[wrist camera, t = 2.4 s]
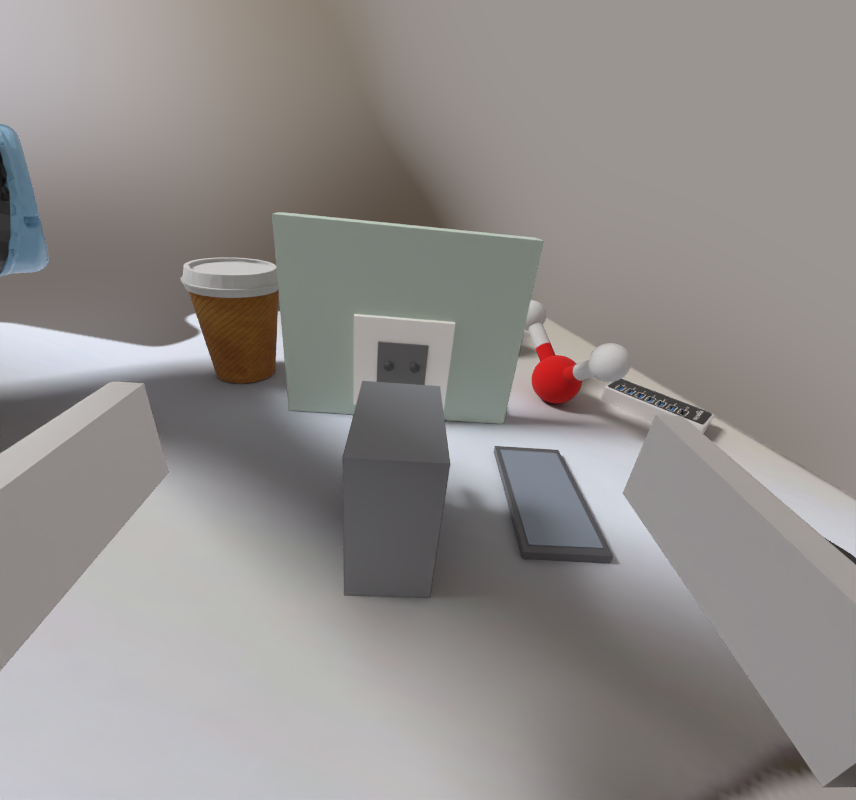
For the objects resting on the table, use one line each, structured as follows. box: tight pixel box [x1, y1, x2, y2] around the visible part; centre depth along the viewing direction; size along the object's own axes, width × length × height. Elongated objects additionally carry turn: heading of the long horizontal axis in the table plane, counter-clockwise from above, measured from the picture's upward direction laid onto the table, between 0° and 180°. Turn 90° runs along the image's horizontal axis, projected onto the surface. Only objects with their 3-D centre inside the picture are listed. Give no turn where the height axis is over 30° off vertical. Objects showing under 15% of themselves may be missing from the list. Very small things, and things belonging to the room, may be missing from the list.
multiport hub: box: [601, 379, 714, 434], centre depth 46 cm, size 4×11×2 cm, turn 44°
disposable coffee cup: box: [181, 258, 279, 383], centre depth 43 cm, size 10×10×12 cm
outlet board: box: [272, 212, 544, 424], centre depth 39 cm, size 22×7×18 cm, turn 92°
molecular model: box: [524, 301, 631, 403], centre depth 45 cm, size 18×6×10 cm, turn 18°
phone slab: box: [494, 446, 613, 563], centre depth 32 cm, size 6×12×1 cm, turn 1°
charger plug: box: [343, 381, 450, 598], centre depth 25 cm, size 5×10×10 cm, turn 2°
